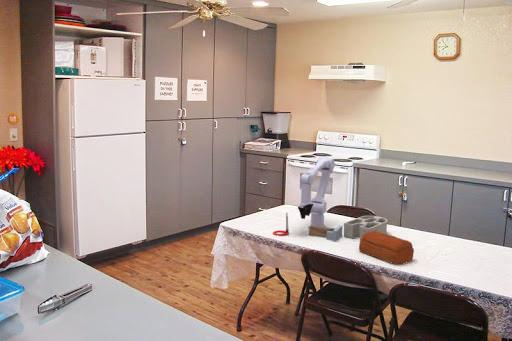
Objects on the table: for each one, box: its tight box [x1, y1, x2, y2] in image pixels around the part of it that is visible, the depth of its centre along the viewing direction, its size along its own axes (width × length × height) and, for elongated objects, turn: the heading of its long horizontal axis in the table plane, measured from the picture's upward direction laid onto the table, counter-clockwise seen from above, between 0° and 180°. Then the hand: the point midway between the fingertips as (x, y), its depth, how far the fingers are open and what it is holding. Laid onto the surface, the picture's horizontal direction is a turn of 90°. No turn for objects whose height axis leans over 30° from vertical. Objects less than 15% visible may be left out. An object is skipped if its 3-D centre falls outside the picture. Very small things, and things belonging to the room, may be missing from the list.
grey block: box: [326, 225, 344, 242], centre depth 278 cm, size 12×6×6 cm, turn 153°
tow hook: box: [272, 212, 290, 237], centre depth 284 cm, size 8×13×9 cm
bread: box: [358, 231, 415, 265], centre depth 250 cm, size 16×27×11 cm, turn 36°
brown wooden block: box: [308, 224, 335, 239], centre depth 282 cm, size 4×14×5 cm, turn 63°
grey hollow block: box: [343, 215, 388, 241], centre depth 285 cm, size 17×28×9 cm, turn 138°
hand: (305, 217), depth 285 cm, fingers open, 7 cm apart
